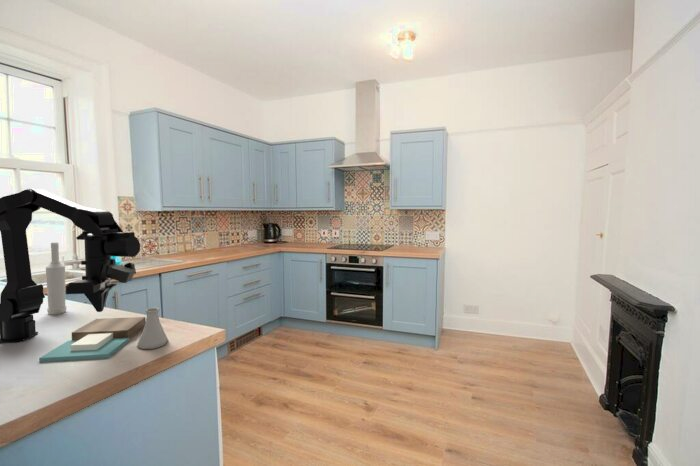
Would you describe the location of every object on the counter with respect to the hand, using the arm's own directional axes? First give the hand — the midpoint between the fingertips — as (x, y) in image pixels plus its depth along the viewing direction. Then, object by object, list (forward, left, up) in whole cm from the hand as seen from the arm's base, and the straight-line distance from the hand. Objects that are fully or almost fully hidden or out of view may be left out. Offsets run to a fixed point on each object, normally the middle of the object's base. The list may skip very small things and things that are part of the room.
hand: (100, 311), depth 92 cm
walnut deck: (0, +6, -9) cm, 11 cm away
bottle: (-29, +31, -9) cm, 43 cm away
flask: (+15, -4, -9) cm, 18 cm away
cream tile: (0, -4, -8) cm, 9 cm away
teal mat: (0, -6, -9) cm, 11 cm away
